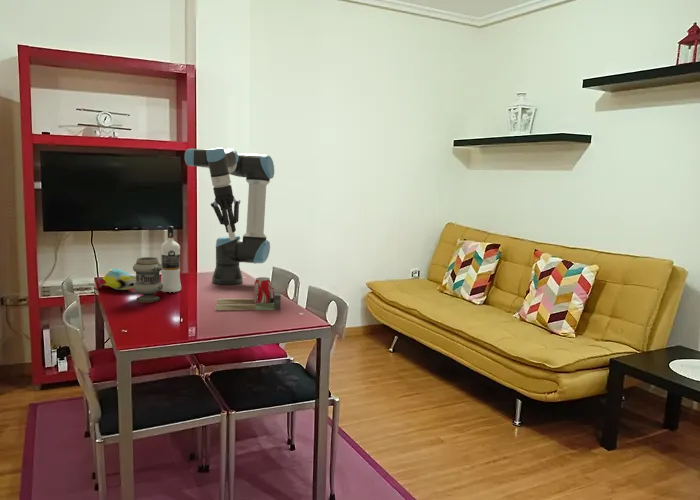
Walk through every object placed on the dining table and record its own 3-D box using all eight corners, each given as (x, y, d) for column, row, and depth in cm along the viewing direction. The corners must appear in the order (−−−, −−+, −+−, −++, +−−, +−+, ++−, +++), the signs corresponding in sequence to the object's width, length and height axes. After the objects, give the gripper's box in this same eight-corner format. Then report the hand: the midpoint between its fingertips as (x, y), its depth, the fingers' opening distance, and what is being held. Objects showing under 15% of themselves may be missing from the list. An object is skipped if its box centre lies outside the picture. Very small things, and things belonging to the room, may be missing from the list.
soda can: (268, 309, 234) (268, 280, 233) (251, 307, 235) (252, 279, 234) (272, 305, 241) (273, 277, 239) (256, 304, 242) (257, 276, 240)
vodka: (181, 288, 266) (181, 225, 262) (180, 292, 258) (180, 227, 254) (160, 288, 264) (160, 224, 260) (159, 293, 255) (159, 227, 251)
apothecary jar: (132, 297, 245) (132, 256, 243) (161, 296, 250) (161, 255, 247) (133, 303, 234) (133, 260, 232) (164, 302, 239) (164, 260, 236)
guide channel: (217, 303, 241) (217, 289, 240) (278, 303, 245) (278, 289, 245) (215, 310, 229) (215, 295, 228) (280, 309, 234) (280, 295, 233)
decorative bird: (123, 295, 248) (123, 275, 247) (85, 285, 265) (84, 265, 263) (150, 291, 259) (150, 271, 258) (112, 281, 276) (111, 262, 275)
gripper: (203, 188, 234) (215, 243, 241) (232, 185, 231) (243, 241, 238) (211, 185, 241) (222, 238, 248) (239, 182, 238) (250, 235, 245)
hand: (232, 239), depth 243 cm, fingers closed
